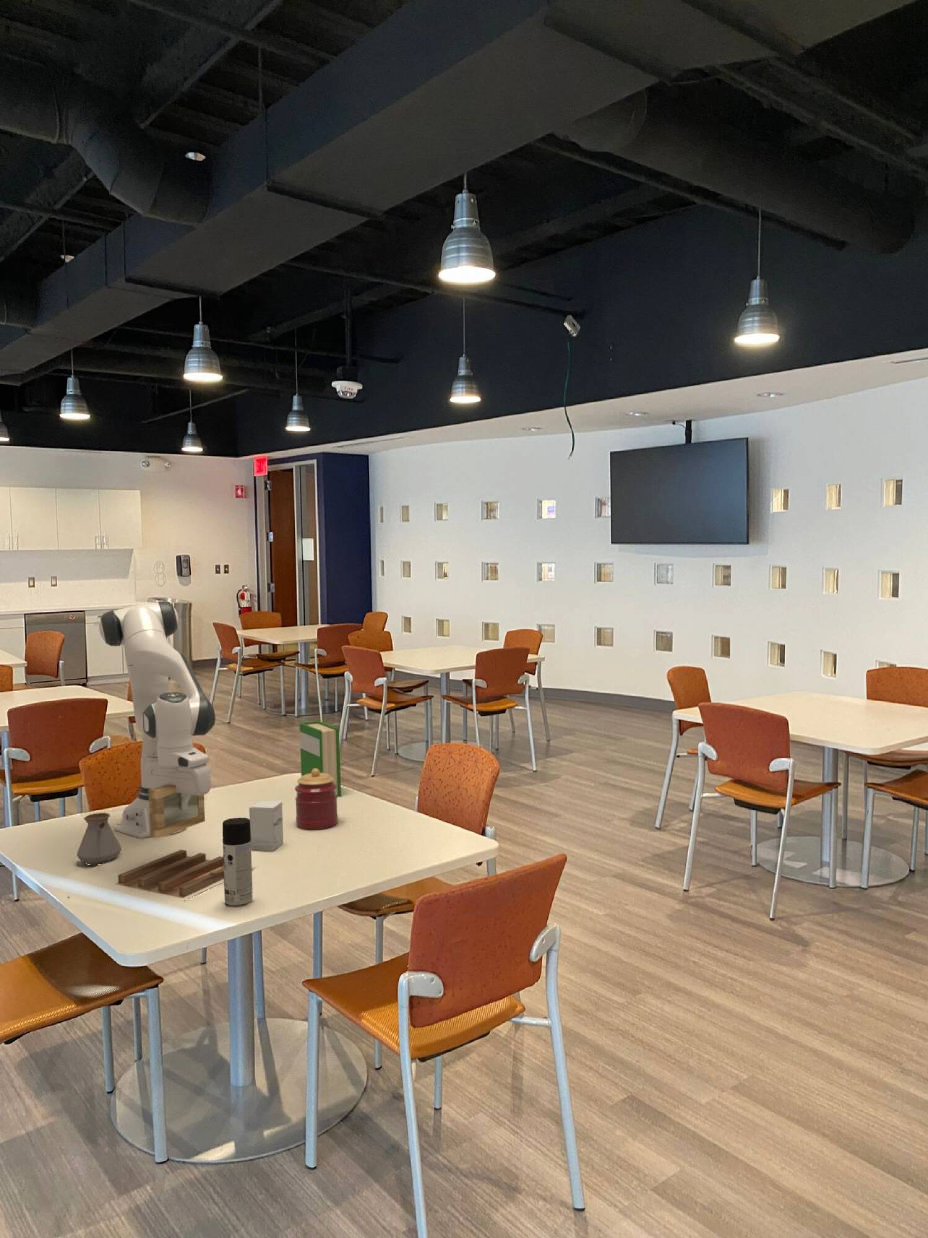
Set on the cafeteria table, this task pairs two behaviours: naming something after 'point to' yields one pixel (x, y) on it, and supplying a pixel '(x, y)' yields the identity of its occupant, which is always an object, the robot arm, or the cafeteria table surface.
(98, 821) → the coffee pot
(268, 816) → the supplement box
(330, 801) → the canister
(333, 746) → the hardback book
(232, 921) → the cafeteria table surface
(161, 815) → the wooden picture frame
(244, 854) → the spray can
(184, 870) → the slotted rack
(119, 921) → the cafeteria table surface
